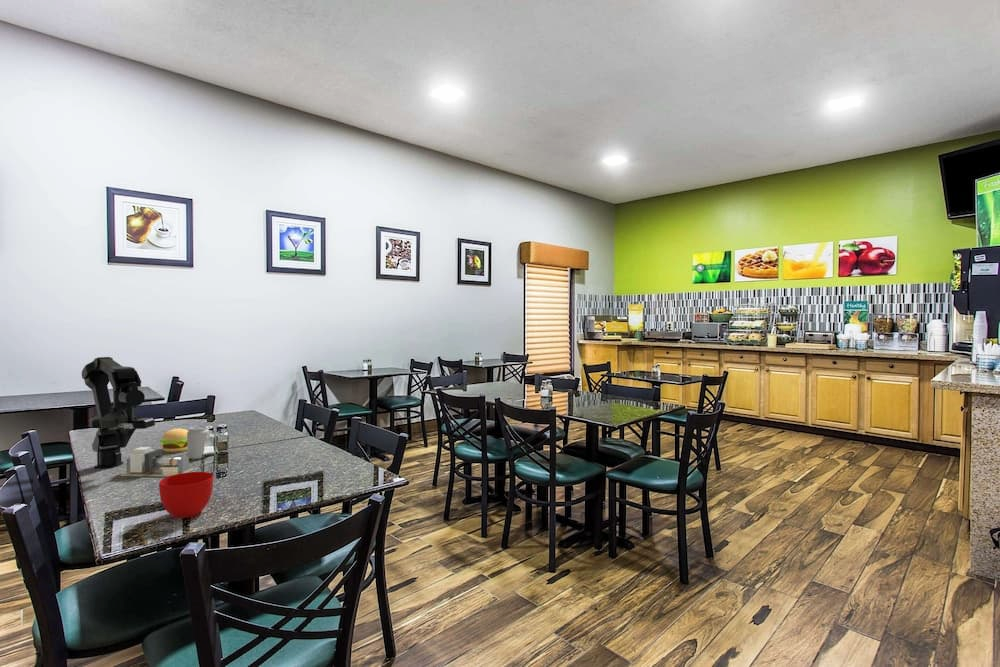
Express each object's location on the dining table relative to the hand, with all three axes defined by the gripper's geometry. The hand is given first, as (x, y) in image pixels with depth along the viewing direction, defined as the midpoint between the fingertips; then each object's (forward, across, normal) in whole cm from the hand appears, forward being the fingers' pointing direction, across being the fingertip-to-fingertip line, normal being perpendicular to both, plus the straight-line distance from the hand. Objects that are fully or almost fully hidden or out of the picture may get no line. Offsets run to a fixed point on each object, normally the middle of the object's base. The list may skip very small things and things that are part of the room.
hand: (123, 447), depth 180 cm
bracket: (+8, +7, 0) cm, 10 cm away
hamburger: (+9, -1, +32) cm, 33 cm away
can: (+9, +15, +20) cm, 26 cm away
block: (+8, +11, 0) cm, 13 cm away
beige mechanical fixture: (+9, +12, 0) cm, 15 cm away
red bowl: (+9, +46, -36) cm, 59 cm away
